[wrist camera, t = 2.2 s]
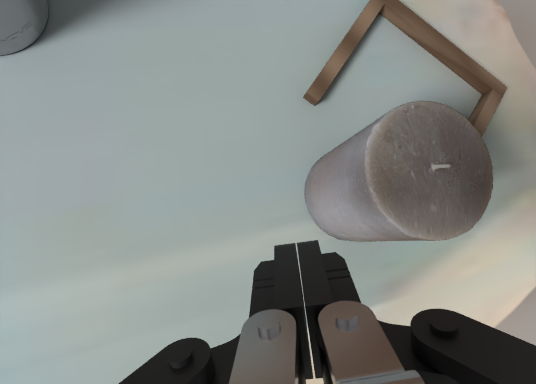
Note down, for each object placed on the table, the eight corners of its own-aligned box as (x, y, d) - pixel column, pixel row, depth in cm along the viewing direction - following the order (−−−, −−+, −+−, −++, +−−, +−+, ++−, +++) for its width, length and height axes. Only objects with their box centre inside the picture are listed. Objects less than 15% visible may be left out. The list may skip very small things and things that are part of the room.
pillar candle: (398, 168, 38) (522, 122, 23) (377, 254, 36) (497, 262, 22) (317, 137, 37) (395, 67, 22) (290, 224, 35) (357, 212, 20)
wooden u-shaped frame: (440, 199, 39) (450, 197, 37) (303, 97, 37) (307, 91, 35) (496, 92, 42) (507, 87, 41) (373, -6, 40) (380, -15, 39)
